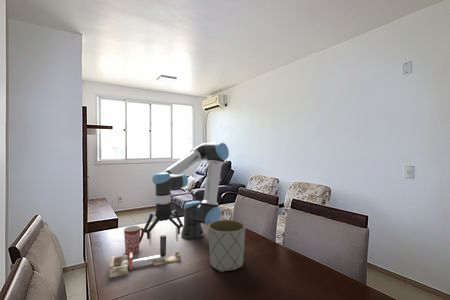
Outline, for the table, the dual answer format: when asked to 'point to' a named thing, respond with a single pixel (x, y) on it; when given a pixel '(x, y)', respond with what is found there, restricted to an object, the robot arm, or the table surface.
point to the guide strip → (168, 259)
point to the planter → (226, 244)
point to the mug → (132, 238)
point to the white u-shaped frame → (150, 259)
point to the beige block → (120, 269)
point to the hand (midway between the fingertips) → (164, 242)
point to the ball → (125, 263)
